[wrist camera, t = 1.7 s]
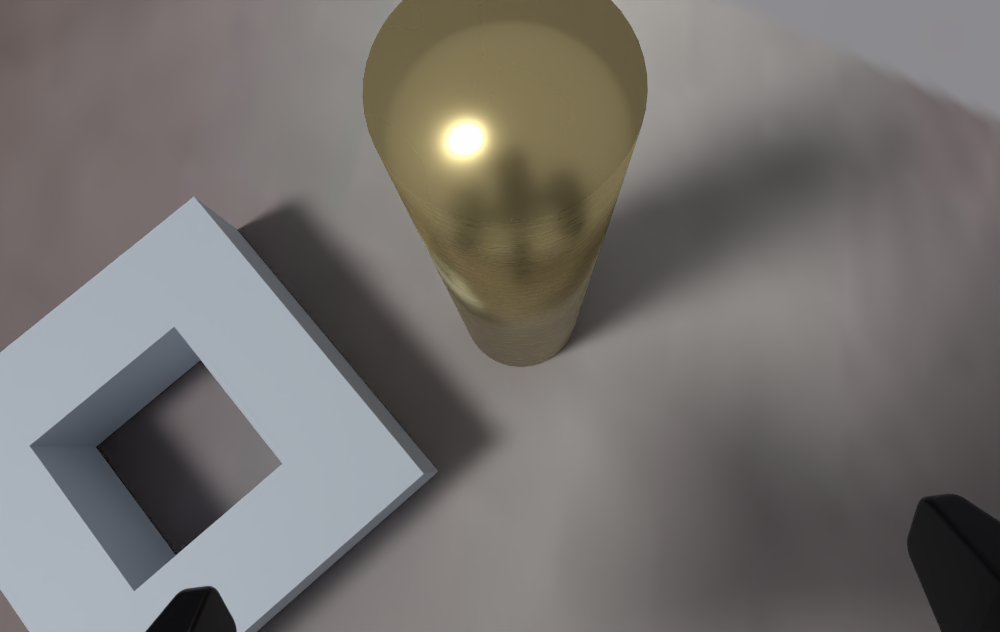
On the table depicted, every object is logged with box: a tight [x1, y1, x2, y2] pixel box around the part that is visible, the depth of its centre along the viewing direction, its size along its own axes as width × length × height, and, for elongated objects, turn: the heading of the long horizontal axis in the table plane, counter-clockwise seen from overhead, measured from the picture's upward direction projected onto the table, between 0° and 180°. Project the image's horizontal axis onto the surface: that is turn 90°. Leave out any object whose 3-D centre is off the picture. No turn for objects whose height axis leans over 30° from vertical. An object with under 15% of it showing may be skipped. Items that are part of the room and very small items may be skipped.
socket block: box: [0, 197, 438, 632], centre depth 21 cm, size 10×10×3 cm
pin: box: [363, 0, 648, 367], centre depth 16 cm, size 3×3×14 cm
